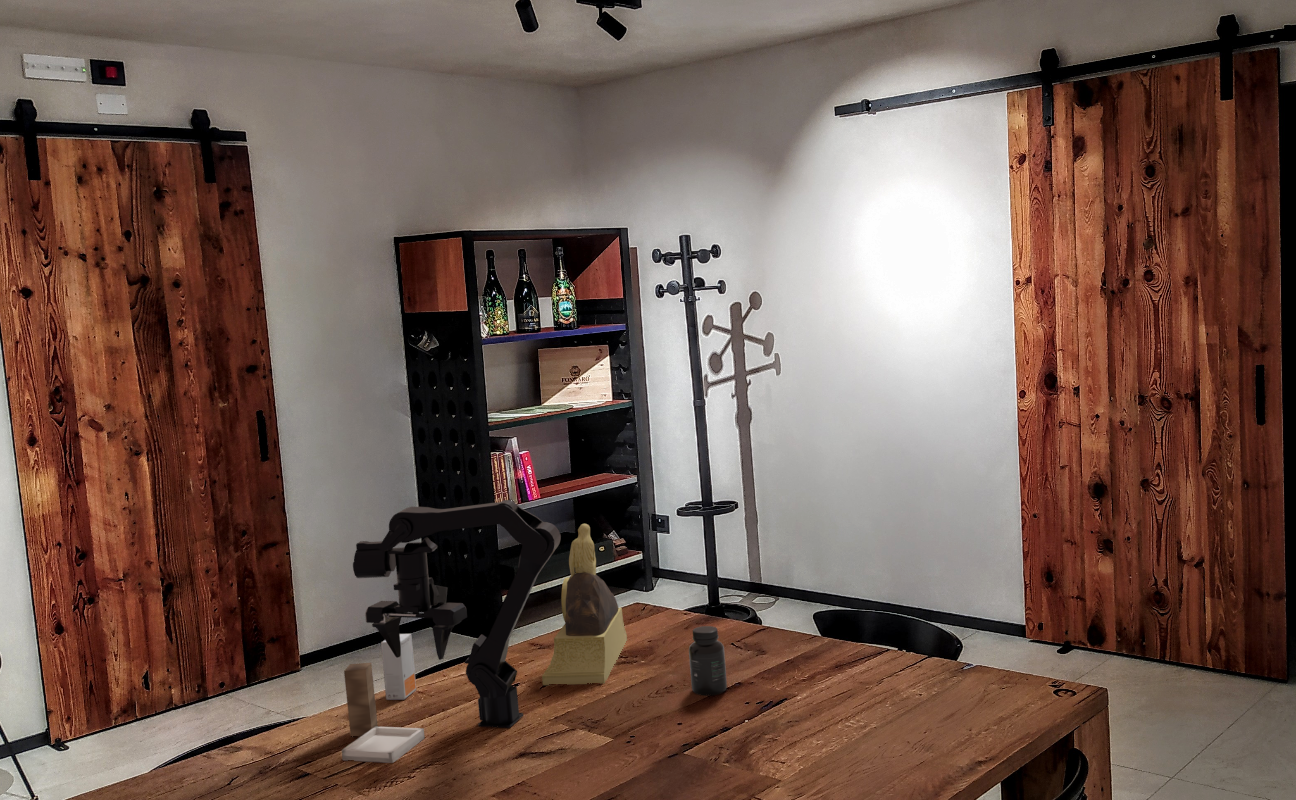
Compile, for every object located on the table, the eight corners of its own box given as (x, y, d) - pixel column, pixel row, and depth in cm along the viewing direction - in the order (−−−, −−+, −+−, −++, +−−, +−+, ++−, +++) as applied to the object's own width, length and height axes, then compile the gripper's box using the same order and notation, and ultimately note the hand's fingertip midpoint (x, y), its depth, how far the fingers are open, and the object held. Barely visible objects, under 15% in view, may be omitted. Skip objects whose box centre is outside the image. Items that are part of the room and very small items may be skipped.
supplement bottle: (685, 689, 212) (680, 629, 211) (714, 681, 216) (709, 622, 215) (704, 698, 206) (699, 636, 206) (734, 690, 210) (729, 629, 209)
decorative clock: (571, 643, 250) (560, 514, 247) (627, 641, 248) (616, 511, 246) (542, 685, 222) (529, 540, 220) (604, 683, 220) (592, 537, 218)
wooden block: (377, 727, 205) (371, 662, 204) (372, 735, 201) (365, 669, 200) (356, 728, 205) (350, 664, 204) (350, 737, 201) (343, 670, 200)
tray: (424, 738, 198) (423, 728, 197) (392, 762, 187) (391, 752, 187) (376, 735, 201) (375, 726, 201) (342, 760, 190) (341, 750, 190)
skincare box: (405, 700, 219) (399, 642, 218) (385, 700, 220) (379, 642, 219) (417, 689, 225) (412, 633, 224) (398, 689, 226) (392, 633, 225)
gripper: (478, 566, 207) (484, 646, 208) (393, 565, 213) (400, 643, 214) (448, 580, 196) (455, 665, 197) (360, 579, 203) (367, 661, 204)
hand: (419, 658), depth 203 cm, fingers open, 9 cm apart
